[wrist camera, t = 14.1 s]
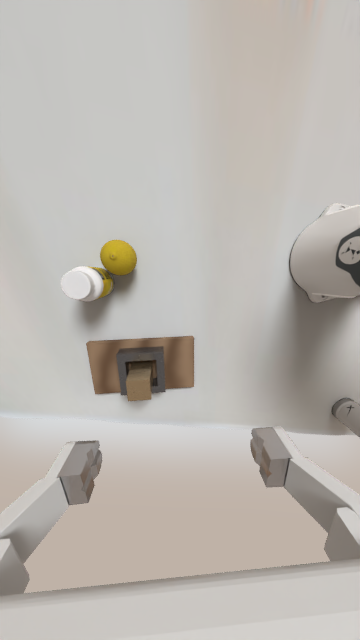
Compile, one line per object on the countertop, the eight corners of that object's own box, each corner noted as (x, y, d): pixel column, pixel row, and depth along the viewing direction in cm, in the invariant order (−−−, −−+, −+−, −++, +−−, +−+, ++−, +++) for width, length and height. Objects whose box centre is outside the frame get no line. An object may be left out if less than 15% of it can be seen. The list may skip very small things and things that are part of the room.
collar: (163, 346, 37) (163, 352, 34) (165, 383, 39) (165, 391, 36) (119, 348, 36) (116, 355, 33) (124, 385, 39) (121, 395, 36)
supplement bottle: (119, 276, 34) (101, 277, 24) (108, 300, 35) (87, 311, 25) (91, 262, 33) (62, 258, 23) (81, 288, 34) (49, 294, 24)
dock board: (193, 335, 38) (193, 337, 37) (193, 383, 41) (193, 386, 40) (88, 341, 36) (86, 343, 35) (97, 390, 40) (95, 394, 39)
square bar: (152, 357, 37) (149, 379, 30) (153, 373, 38) (151, 399, 31) (133, 358, 37) (125, 381, 29) (135, 375, 38) (128, 401, 30)
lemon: (134, 279, 34) (126, 281, 26) (106, 268, 33) (88, 267, 25) (143, 250, 33) (136, 244, 25) (114, 239, 32) (97, 228, 24)
